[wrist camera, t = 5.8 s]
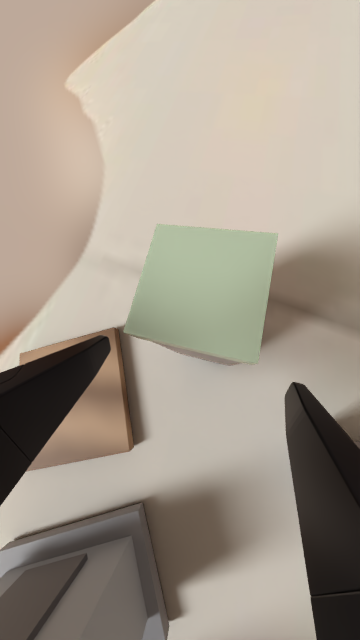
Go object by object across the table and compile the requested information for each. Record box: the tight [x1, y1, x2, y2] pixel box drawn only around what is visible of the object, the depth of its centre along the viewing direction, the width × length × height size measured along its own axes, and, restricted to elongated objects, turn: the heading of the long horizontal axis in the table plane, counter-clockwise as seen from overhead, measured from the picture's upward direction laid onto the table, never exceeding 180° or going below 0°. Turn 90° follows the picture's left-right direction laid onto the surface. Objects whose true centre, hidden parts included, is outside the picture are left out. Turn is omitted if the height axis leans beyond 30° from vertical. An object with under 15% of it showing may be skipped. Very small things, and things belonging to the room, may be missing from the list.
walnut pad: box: [20, 328, 134, 471], centre depth 20 cm, size 12×12×1 cm
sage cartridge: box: [123, 224, 278, 366], centre depth 13 cm, size 5×5×12 cm
